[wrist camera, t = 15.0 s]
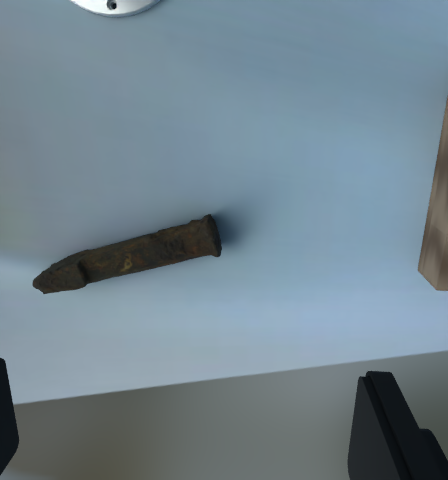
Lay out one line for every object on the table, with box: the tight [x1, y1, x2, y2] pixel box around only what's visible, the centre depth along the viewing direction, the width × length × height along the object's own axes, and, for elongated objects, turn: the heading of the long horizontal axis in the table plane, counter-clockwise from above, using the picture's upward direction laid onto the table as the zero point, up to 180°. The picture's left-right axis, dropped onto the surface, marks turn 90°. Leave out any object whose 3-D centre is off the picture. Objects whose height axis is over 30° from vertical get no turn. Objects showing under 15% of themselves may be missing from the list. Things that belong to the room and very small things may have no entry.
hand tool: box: [33, 214, 222, 294], centre depth 41 cm, size 19×4×5 cm, turn 103°
